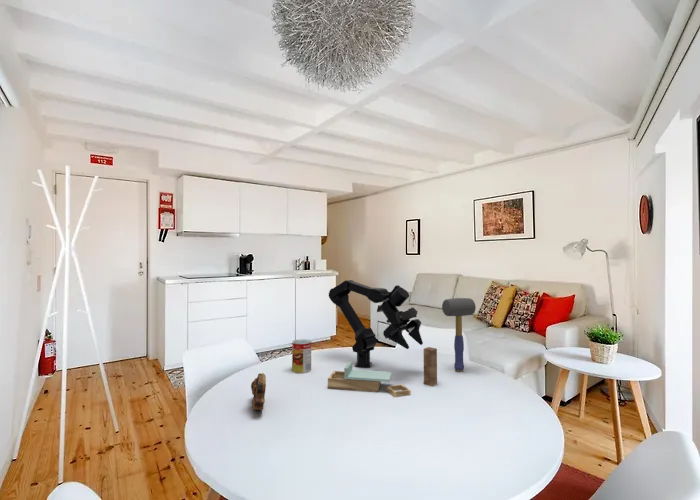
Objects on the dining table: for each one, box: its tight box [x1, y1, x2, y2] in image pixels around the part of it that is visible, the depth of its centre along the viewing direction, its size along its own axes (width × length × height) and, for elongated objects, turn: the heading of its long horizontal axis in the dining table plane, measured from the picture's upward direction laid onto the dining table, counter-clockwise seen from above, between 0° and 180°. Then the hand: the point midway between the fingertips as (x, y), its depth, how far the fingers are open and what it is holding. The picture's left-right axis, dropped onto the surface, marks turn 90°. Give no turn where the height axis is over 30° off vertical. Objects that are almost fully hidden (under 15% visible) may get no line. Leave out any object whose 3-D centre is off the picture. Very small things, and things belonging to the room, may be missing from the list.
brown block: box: [423, 346, 438, 387], centre depth 132 cm, size 4×4×13 cm
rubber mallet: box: [441, 297, 477, 372], centre depth 148 cm, size 12×8×30 cm, turn 107°
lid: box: [343, 361, 393, 383], centre depth 129 cm, size 9×16×4 cm, turn 79°
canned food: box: [291, 338, 312, 374], centre depth 148 cm, size 8×8×12 cm
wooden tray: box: [327, 370, 382, 393], centre depth 130 cm, size 9×18×4 cm, turn 79°
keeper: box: [386, 384, 412, 398], centre depth 123 cm, size 6×6×2 cm
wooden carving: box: [250, 372, 267, 411], centre depth 111 cm, size 16×5×10 cm, turn 21°
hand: (415, 346), depth 137 cm, fingers open, 9 cm apart
